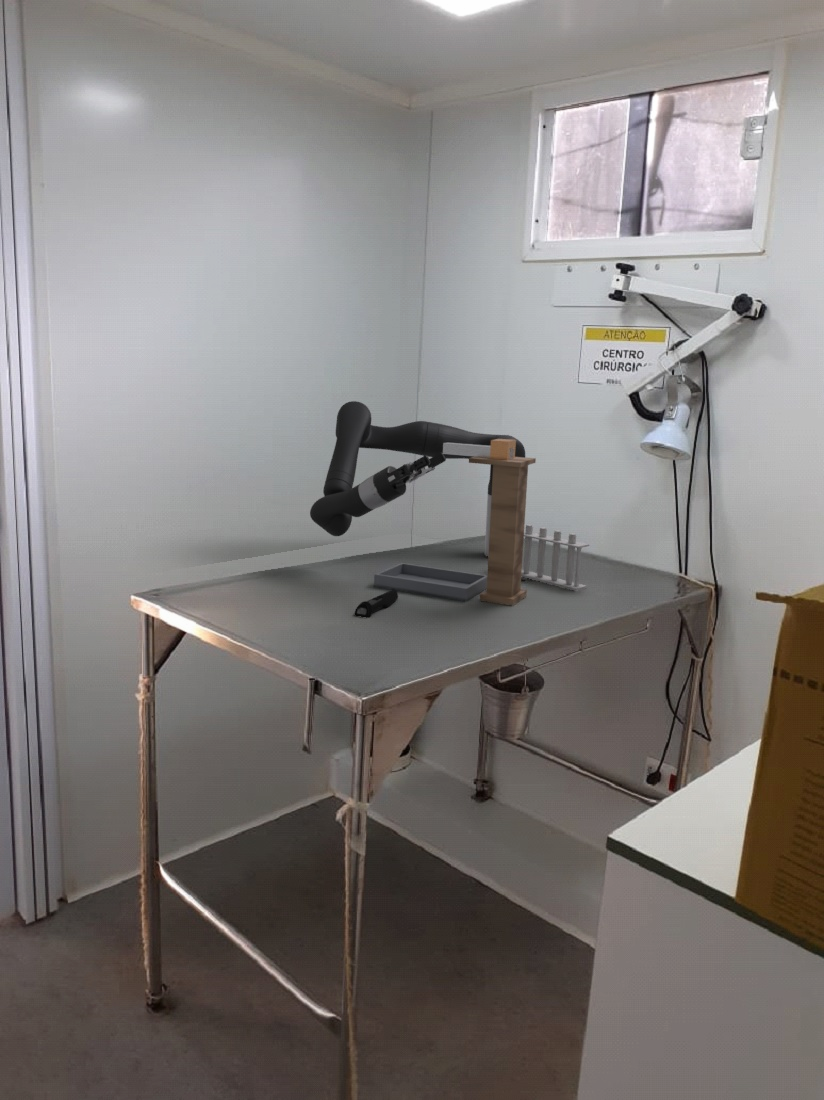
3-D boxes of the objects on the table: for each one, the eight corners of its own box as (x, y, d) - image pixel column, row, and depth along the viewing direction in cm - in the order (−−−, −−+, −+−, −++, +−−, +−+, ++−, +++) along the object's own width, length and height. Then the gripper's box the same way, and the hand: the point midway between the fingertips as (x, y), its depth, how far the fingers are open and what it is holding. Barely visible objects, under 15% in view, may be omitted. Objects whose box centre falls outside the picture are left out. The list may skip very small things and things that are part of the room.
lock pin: (449, 452, 200) (450, 435, 199) (514, 457, 193) (515, 439, 192) (440, 454, 195) (441, 436, 194) (507, 459, 188) (508, 441, 188)
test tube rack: (586, 588, 209) (590, 535, 206) (575, 591, 206) (579, 537, 203) (507, 568, 227) (510, 519, 224) (496, 571, 224) (499, 520, 221)
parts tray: (401, 574, 216) (401, 562, 216) (488, 587, 206) (489, 575, 206) (374, 586, 204) (374, 574, 204) (466, 601, 194) (466, 588, 193)
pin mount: (478, 588, 205) (485, 454, 198) (527, 596, 200) (535, 458, 193) (462, 598, 197) (468, 458, 190) (512, 606, 191) (520, 462, 184)
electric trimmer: (402, 603, 193) (402, 589, 193) (368, 619, 180) (368, 605, 179) (387, 600, 195) (387, 587, 194) (352, 617, 181) (353, 602, 181)
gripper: (402, 498, 212) (455, 469, 204) (374, 506, 199) (430, 475, 192) (389, 471, 212) (442, 441, 205) (360, 477, 200) (415, 445, 192)
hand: (436, 457), depth 198 cm, fingers open, 8 cm apart
